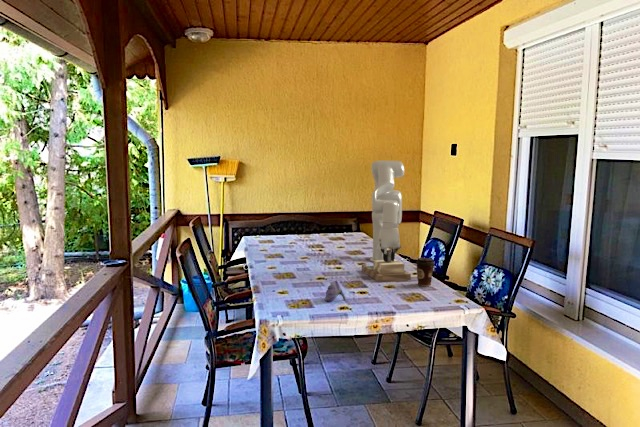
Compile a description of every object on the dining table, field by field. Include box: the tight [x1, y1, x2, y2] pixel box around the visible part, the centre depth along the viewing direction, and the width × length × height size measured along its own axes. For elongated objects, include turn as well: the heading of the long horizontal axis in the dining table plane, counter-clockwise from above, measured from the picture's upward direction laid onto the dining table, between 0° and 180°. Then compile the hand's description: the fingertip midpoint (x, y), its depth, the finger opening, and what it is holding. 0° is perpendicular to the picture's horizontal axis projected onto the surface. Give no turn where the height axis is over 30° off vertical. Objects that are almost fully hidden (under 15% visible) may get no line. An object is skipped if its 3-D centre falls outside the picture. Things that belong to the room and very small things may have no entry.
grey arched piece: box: [324, 280, 347, 302], centre depth 210 cm, size 9×9×10 cm
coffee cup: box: [415, 257, 435, 287], centre depth 235 cm, size 9×8×13 cm
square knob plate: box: [373, 249, 405, 275], centre depth 250 cm, size 12×12×13 cm
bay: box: [361, 264, 412, 283], centre depth 255 cm, size 26×17×3 cm, turn 14°
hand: (388, 260), depth 250 cm, fingers open, 3 cm apart
